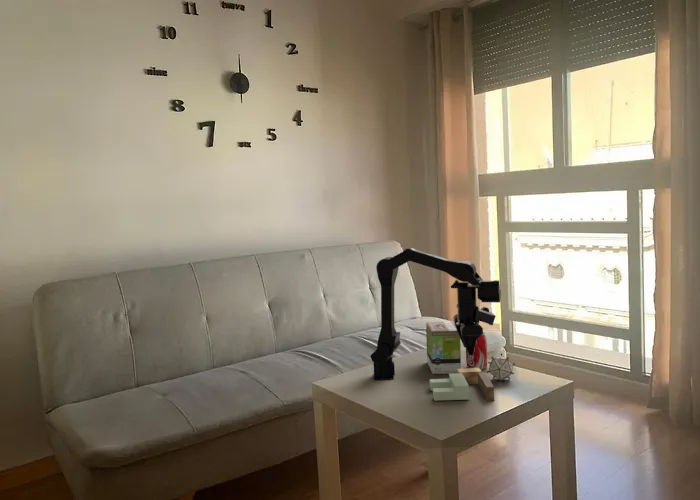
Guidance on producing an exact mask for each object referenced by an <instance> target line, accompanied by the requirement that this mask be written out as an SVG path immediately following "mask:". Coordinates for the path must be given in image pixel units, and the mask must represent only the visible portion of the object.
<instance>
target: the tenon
mask: <svg viewBox="0 0 700 500" xmlns="http://www.w3.org/2000/svg"><path fill="white" fill-rule="evenodd" d="M479 372H483V371H482V370H480V368H469V367H466V368H461V369H457V373H462V374H463V376H464V378H465V380H466V382H467V383H468V385H478V373H479Z"/></svg>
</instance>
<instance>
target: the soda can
mask: <svg viewBox="0 0 700 500" xmlns="http://www.w3.org/2000/svg"><path fill="white" fill-rule="evenodd" d="M465 362H466V366H467V367H466V368H480V370H481V371H482V370H484V369H485V368H487V367H488V341H487V337H486V335H485V332H484V331H483V334H482V336H480V337H479V338H477V340H476V343H475V347H474V352H473V355H469V353H468V351H467V348H466V347H465Z"/></svg>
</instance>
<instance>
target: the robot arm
mask: <svg viewBox="0 0 700 500" xmlns="http://www.w3.org/2000/svg"><path fill="white" fill-rule="evenodd" d="M408 262H411V263H415V264H419V265H422V266H424V267H429V268H431V269H434V270H438V271H441V272H444V273H447V274H448V275H449V276H451V278H454V279H455V280H454V282H453V284H451V285H450V288H451V289H456V292H457V303H456V308H457V313H456V314H455V315H454V316H453V322H454V324H455V327H456V329H457V332H458V334H459V336H460V342H461V343H462V346H463V348H465V349H466V348H467V351H468V353H469V355H473V352H474V347H475V343H476V340H477V338H479V337H480V336H482V334H483V332H484V328H483V327H482V325H480V324H479V323H480V322H482V323H485V324H488V325H490V326H494V323H495V319H496V314H494V313H492V312H490V309H489V308H488V307H486V306H483V307H481V308H479V306H478V305H477V299H478V301H481V303H501V301H502V290H501V285H500V279H499V280H498V279H494V280H483V278H482V277H481V276H480V274H479V273H478V271H477V267H476V265H475V264H474V263H473V262H472V261H468V260H460V259H448V258H445V257H442V256H439V255H436V254H431V253H428V252H425V251H422V250H419V249H416V248H414V247H408V248H405V249H403V251H401V252H400V253H398V254H396V255H394V256H392V257H391V256H386V257H385V258H382V259H380V260H379V261H378V262H377V264H376V268H375V269H376V273H377V274H376V275H377V279H378V281H379V284H380V311H381V314H380V320H381V321H380V323H381V324H380V325H381V326H380V328H381V329H380V332H379V335H378V338H377V344H376V349H375V350H374V351H373V352H372V354H370V356H369V357H370V359H371V361H372V364H373V380H374V381H375V380H394V379H395V378H394V377H395V375H396V374H395V368H396V367H395V362H394V361H393V355H394V353H395V352H396V351H397V350H398V348H399V346H400V345H401V344H402V343H401V331H397V329H396V327H395V283H396V281H397V277H398V273H399V267H402V266H403V265H405V264H406V263H408Z"/></svg>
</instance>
